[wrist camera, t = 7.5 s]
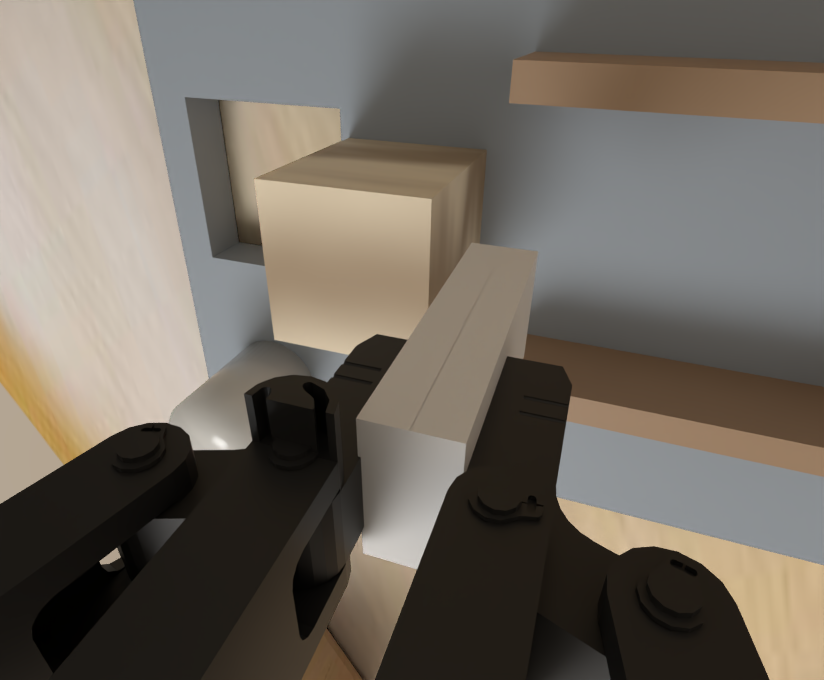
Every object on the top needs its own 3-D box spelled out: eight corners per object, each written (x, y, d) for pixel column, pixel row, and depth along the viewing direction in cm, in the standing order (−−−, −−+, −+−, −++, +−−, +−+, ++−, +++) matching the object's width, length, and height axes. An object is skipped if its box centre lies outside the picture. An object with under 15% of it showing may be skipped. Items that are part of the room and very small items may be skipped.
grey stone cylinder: (234, 333, 27) (160, 392, 22) (310, 349, 25) (247, 414, 21) (245, 402, 29) (179, 467, 24) (316, 420, 27) (260, 491, 23)
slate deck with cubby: (162, -50, 21) (33, -66, 17) (1195, -63, 13) (1484, -101, 9) (237, 389, 31) (169, 452, 27) (845, 535, 23) (893, 660, 19)
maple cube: (348, 137, 20) (253, 178, 15) (486, 149, 19) (431, 199, 14) (354, 268, 23) (274, 339, 18) (476, 287, 21) (426, 370, 16)
